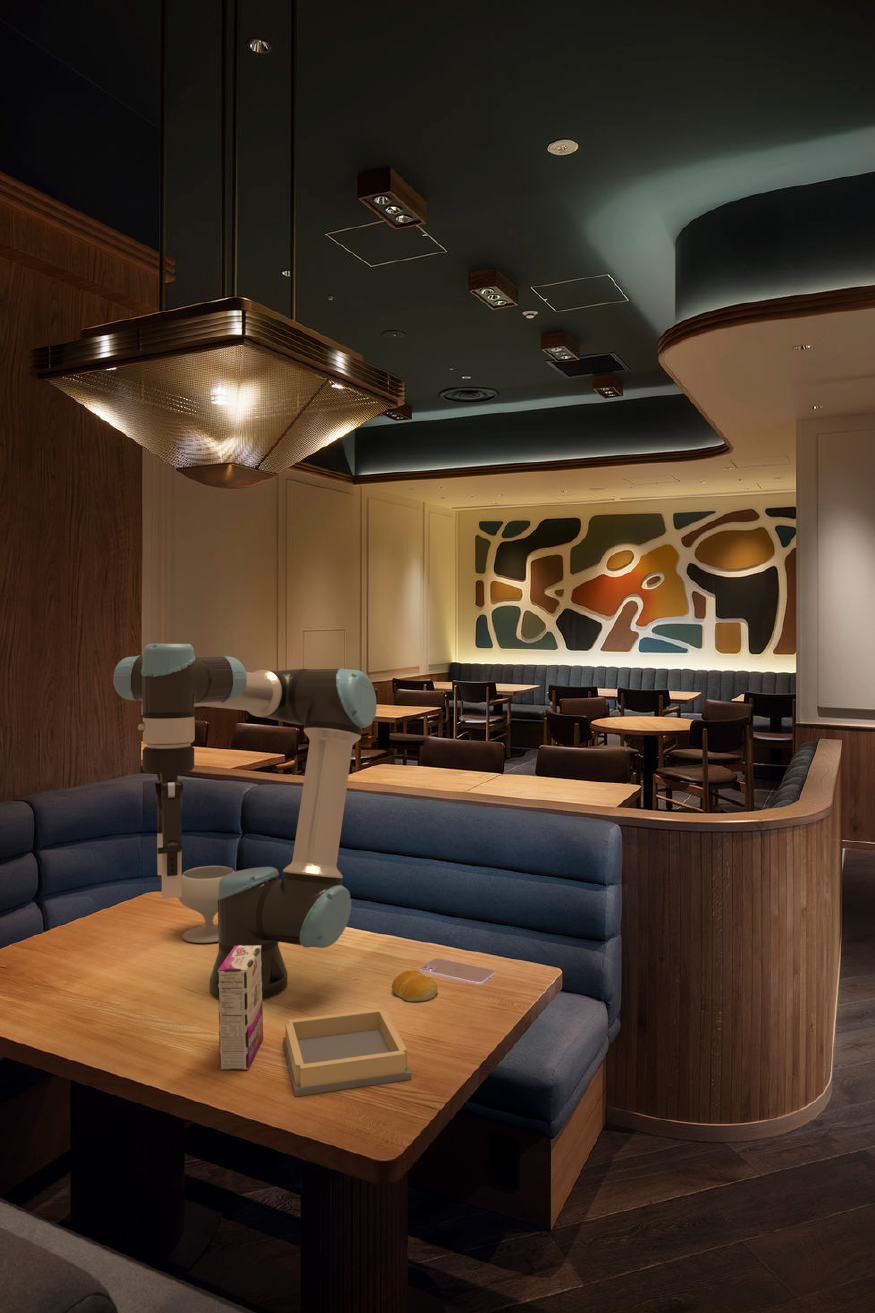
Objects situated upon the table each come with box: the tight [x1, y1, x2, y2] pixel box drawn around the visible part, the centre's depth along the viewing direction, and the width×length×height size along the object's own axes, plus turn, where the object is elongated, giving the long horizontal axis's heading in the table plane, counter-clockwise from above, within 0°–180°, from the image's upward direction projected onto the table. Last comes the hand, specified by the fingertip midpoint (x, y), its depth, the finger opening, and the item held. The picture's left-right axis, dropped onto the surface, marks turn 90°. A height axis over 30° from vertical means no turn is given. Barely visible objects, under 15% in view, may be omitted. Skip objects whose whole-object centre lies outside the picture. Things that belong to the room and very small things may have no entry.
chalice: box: [177, 865, 236, 944], centre depth 199 cm, size 14×14×15 cm
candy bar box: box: [217, 945, 264, 1071], centre depth 141 cm, size 11×5×16 cm, turn 179°
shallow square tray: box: [282, 1008, 412, 1097], centre depth 139 cm, size 18×18×4 cm
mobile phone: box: [418, 958, 497, 986], centre depth 177 cm, size 8×1×15 cm
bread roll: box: [391, 969, 438, 1003], centre depth 166 cm, size 8×9×4 cm
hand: (169, 885), depth 129 cm, fingers open, 13 cm apart
